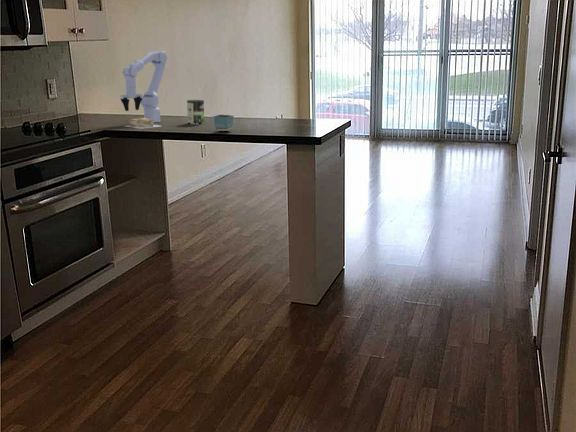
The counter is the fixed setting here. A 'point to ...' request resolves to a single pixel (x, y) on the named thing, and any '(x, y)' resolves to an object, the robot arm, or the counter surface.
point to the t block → (141, 122)
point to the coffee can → (195, 111)
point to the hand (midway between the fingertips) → (132, 110)
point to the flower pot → (223, 121)
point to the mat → (144, 127)
